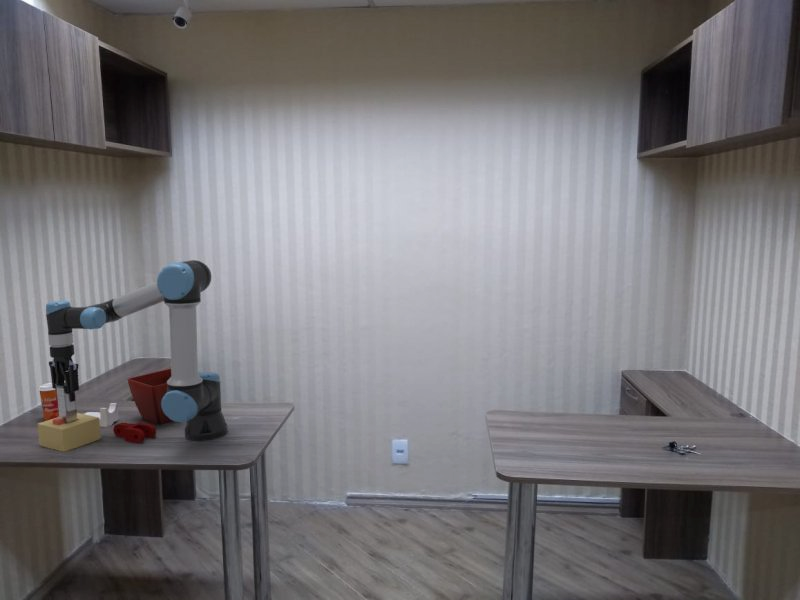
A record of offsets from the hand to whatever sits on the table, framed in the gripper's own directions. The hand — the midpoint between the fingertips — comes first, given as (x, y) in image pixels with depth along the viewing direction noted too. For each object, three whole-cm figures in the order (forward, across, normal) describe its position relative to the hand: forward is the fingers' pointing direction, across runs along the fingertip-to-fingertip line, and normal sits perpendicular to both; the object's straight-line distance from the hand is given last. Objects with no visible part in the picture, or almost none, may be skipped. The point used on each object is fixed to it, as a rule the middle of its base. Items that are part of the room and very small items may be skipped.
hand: (67, 409), depth 215 cm
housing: (+12, 0, 0) cm, 12 cm away
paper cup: (+12, +31, -13) cm, 36 cm away
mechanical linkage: (+13, -17, -13) cm, 25 cm away
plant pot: (+13, -9, -34) cm, 37 cm away
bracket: (+13, +9, -17) cm, 23 cm away
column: (+12, 0, 0) cm, 12 cm away
